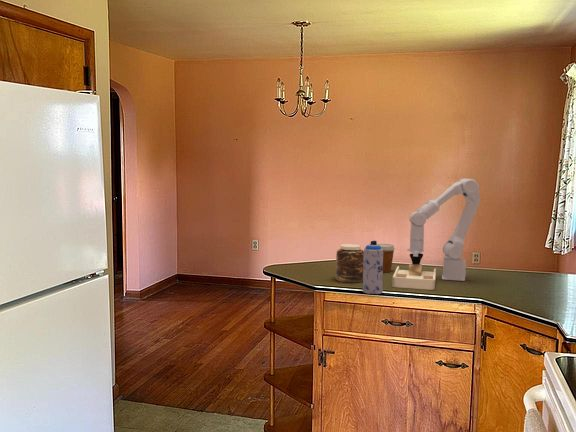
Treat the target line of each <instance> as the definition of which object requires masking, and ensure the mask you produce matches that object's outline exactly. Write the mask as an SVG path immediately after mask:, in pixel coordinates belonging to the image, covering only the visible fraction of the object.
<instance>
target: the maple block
mask: <svg viewBox="0 0 576 432" xmlns="http://www.w3.org/2000/svg"><path fill="white" fill-rule="evenodd" d="M422 267H423V265H422V264H421V263H420V264H412V263H410V264H409V265H408V270H409V275H415V276H421V274H422V271H423V268H422Z"/></svg>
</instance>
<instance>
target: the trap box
mask: <svg viewBox="0 0 576 432" xmlns="http://www.w3.org/2000/svg"><path fill="white" fill-rule="evenodd" d="M436 273H437V268H433V271H423V270H422V274H421V276H415V275H409V269H408V270H407V269H406V270H405V269H400V266H399V265H398V266H396V269H395V271H394V273H393V275H392V284H391V285H392V288H400V289H402V288H403V289H414V290H415V289H416V290H428V291H429V290H431V291H435V290H436V280H437V279H436V277H437V274H436Z"/></svg>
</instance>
